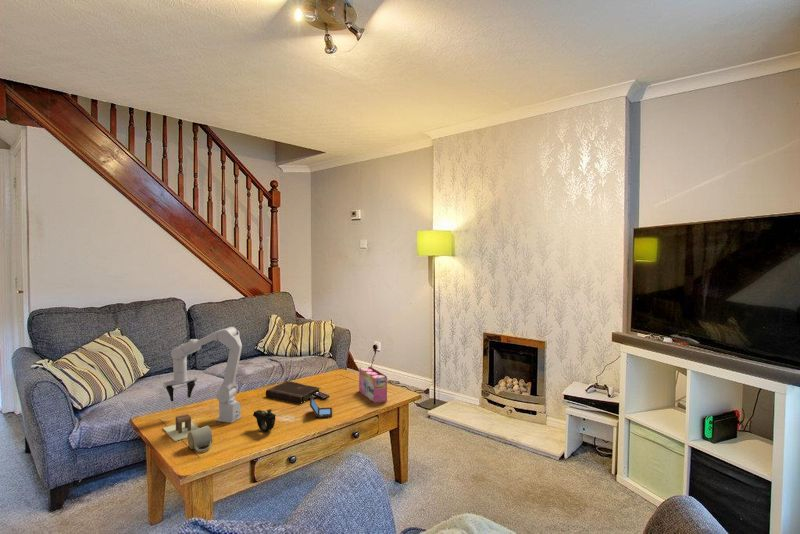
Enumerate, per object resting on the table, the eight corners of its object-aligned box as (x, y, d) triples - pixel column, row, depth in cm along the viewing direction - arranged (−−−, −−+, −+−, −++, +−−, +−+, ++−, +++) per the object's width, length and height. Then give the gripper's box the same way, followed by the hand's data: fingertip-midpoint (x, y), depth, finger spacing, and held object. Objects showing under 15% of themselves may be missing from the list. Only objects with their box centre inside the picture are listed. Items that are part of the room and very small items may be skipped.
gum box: (357, 390, 253) (357, 367, 253) (370, 388, 257) (370, 365, 256) (374, 403, 232) (374, 378, 231) (387, 401, 235) (387, 376, 235)
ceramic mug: (186, 446, 180) (186, 428, 180) (206, 440, 186) (206, 423, 185) (194, 455, 172) (194, 436, 172) (215, 449, 178) (215, 431, 178)
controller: (269, 435, 191) (269, 412, 191) (251, 428, 198) (251, 407, 198) (277, 431, 195) (277, 409, 194) (259, 425, 202) (259, 404, 201)
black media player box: (300, 406, 229) (300, 396, 229) (265, 398, 241) (265, 389, 241) (322, 395, 246) (322, 386, 246) (288, 388, 257) (288, 380, 257)
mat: (204, 433, 193) (204, 432, 193) (174, 441, 184) (174, 440, 184) (191, 421, 206) (191, 420, 206) (163, 428, 198) (163, 427, 198)
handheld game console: (332, 418, 211) (332, 403, 211) (309, 419, 209) (309, 404, 209) (332, 409, 224) (332, 395, 223) (310, 410, 222) (310, 396, 222)
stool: (191, 430, 195) (190, 417, 195) (179, 433, 192) (178, 419, 191) (187, 426, 199) (187, 413, 198) (175, 429, 195) (175, 416, 195)
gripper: (193, 366, 217) (193, 393, 218) (161, 372, 208) (161, 400, 208) (198, 369, 212) (198, 397, 213) (165, 375, 202) (165, 404, 203)
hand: (180, 399), depth 210 cm, fingers open, 7 cm apart
